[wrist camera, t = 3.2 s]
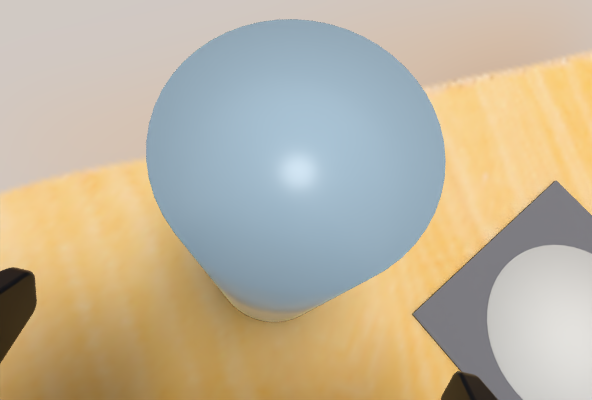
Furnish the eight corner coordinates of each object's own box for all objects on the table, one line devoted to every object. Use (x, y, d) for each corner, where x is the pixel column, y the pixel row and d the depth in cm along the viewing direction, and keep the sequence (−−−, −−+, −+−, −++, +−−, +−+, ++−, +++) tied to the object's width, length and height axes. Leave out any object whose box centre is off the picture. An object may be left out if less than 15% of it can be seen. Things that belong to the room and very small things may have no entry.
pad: (590, 523, 18) (592, 524, 18) (412, 314, 20) (413, 313, 20) (722, 347, 21) (725, 347, 21) (555, 180, 23) (556, 180, 23)
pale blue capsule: (264, 348, 19) (276, 367, 7) (191, 251, 20) (85, 115, 8) (356, 270, 20) (504, 167, 8) (283, 183, 22) (317, -23, 9)
